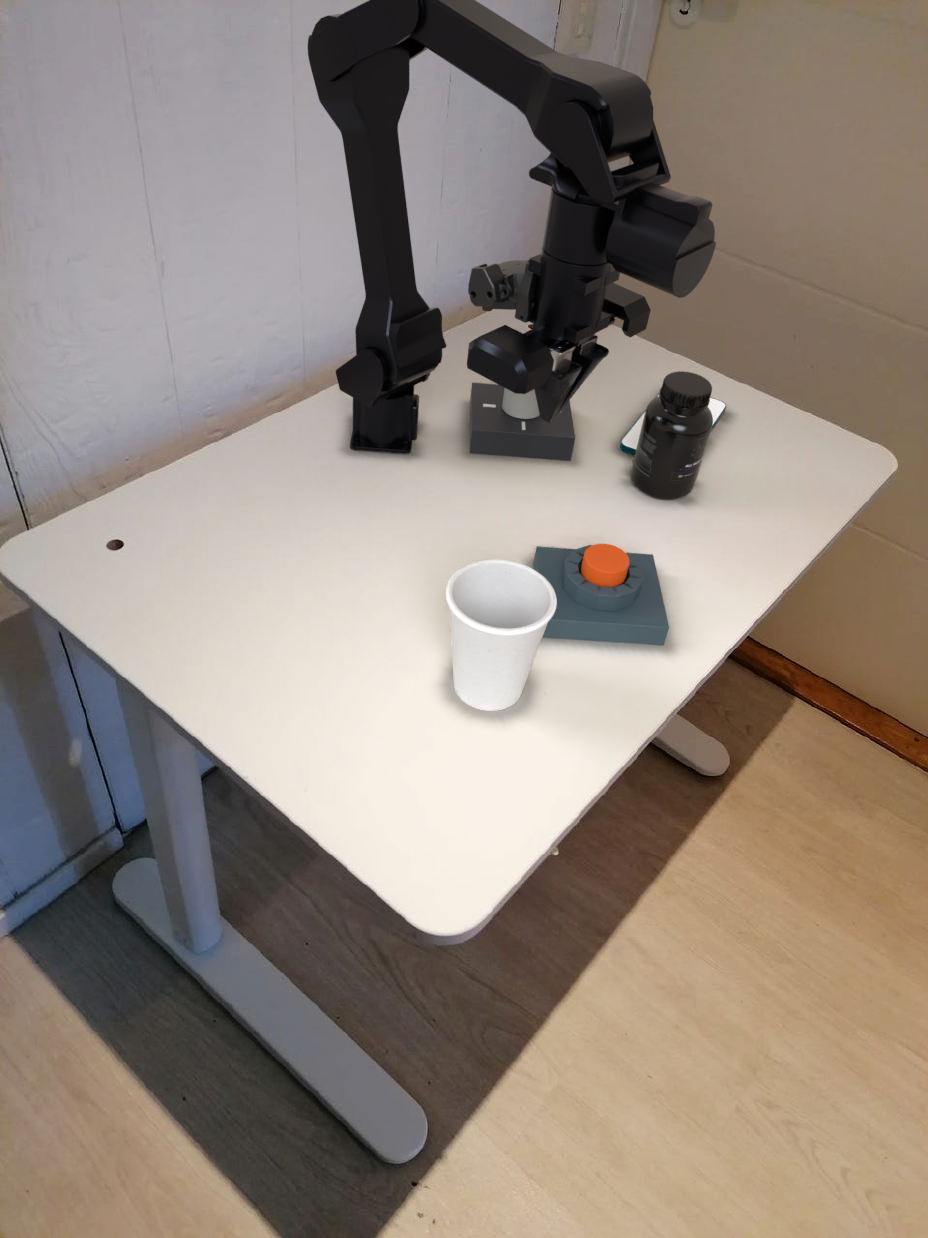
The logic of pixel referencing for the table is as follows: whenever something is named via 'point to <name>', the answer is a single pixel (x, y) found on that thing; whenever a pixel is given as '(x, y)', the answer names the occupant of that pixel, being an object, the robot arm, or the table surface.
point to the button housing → (603, 600)
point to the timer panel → (516, 429)
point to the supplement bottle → (673, 437)
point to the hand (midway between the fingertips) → (547, 419)
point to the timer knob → (520, 404)
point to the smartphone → (632, 436)
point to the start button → (605, 565)
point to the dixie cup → (496, 629)
